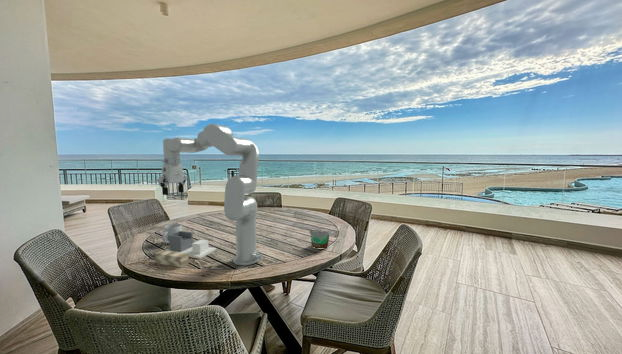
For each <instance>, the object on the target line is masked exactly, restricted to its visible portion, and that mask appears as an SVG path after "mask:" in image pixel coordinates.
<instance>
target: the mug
mask: <svg viewBox="0 0 622 354" xmlns="http://www.w3.org/2000/svg"><path fill="white" fill-rule="evenodd" d="M182 227H183V226H182V224H181V223H171V224H167V225H165V226H164V227H163V232H164V233H163V234H162V236H161V240H162V242H163V243H165V244H168V245H169V241H168V235H170V234H173V233H176V232H179V231H183V228H182Z"/></svg>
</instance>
